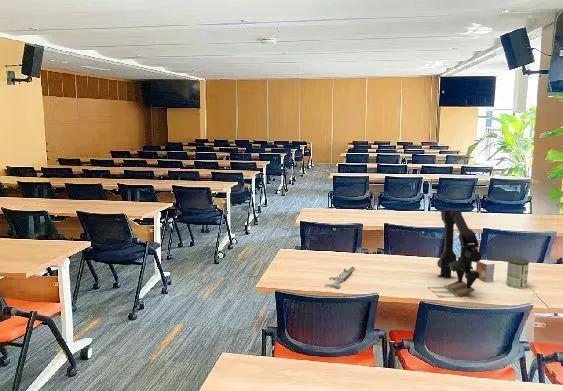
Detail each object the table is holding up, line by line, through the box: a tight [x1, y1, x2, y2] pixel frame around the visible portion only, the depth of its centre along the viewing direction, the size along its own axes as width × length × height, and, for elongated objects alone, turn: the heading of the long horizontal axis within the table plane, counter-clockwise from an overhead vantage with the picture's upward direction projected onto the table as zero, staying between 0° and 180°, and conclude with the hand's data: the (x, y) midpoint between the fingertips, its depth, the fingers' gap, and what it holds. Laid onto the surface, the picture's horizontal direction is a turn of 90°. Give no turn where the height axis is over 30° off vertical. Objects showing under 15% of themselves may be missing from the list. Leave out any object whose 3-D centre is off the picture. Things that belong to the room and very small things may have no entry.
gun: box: [324, 266, 356, 289], centre depth 277 cm, size 36×4×10 cm
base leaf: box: [427, 285, 460, 299], centre depth 253 cm, size 14×11×2 cm
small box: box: [475, 259, 496, 283], centre depth 274 cm, size 8×6×10 cm
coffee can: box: [506, 257, 530, 289], centre depth 265 cm, size 10×10×14 cm
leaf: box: [446, 280, 475, 298], centre depth 254 cm, size 14×10×2 cm
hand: (464, 285), depth 254 cm, fingers open, 9 cm apart
